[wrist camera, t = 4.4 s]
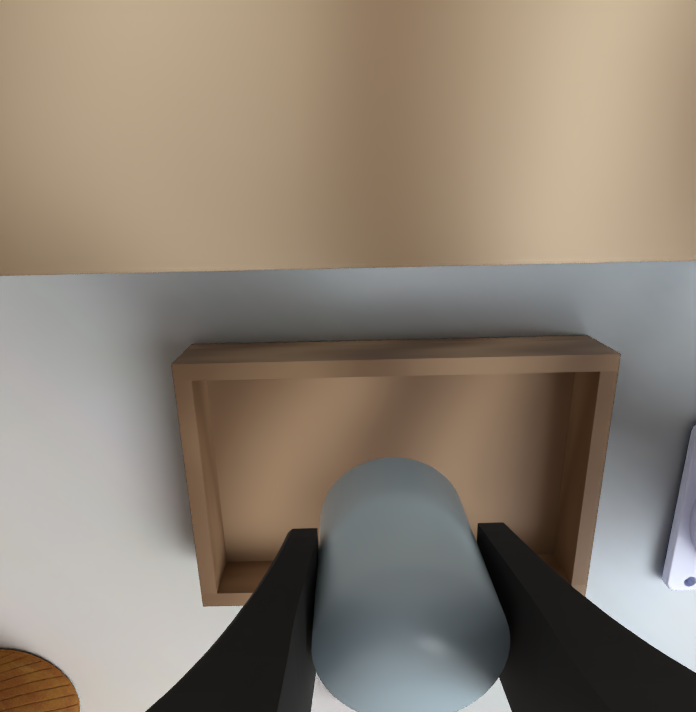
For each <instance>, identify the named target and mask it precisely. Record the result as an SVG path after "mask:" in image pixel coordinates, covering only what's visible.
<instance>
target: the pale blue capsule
mask: <svg viewBox="0 0 696 712" xmlns="http://www.w3.org/2000/svg"><path fill="white" fill-rule="evenodd" d="M318 549H319V550H318V564H317V579H316V588H315V603H314V617H313V631H312V650H311V651H312V658H313V663H314V666H315V670H316V672H317V674H318V676H319V678H320V680H321V681H322V683H323V684H324V686H325V687H326V688H327V689H328V690H329V692H330V693H331V694H332V695H333V696H334V697H336V698H337V699H338V700H339V701H340V702H342V703H343V704H345V705H346V706H348V707H350V708H351V709H353V710H355V711H357V712H457V711H459V710H461V709H463V708H465V707H467V706H468V705H470V704H471V703H473V702H474V701H476V700H477V699H479V698H480V697H481V696H482V695H483V694H485V693H486V692H487V691H488V690H489V689H490V688H491V686H492V685H493V684H494V683H495V682H496V680H497V679H498V677H499V676H500V674H501V672H502V671H503V669H504V667H505V664H506V661H507V658H508V655H509V649H510V632H509V626H508V623H507V620H506V617H505V614H504V611H503V609H502V606H501V604H500V601H499V599H498V596H497V593H496V591H495V588H494V586H493V583H492V580H491V578H490V575H489V573H488V570H487V568H486V565H485V562H484V560H483V557H482V555H481V552H480V549H479V547H478V544H477V542H476V539H475V537H474V534H473V531H472V529H471V526H470V524H469V521H468V519H467V516H466V513H465V511H464V508H463V506H462V503H461V500H460V498H459V495H458V494H457V492H456V490H455V488H454V487H453V485H452V484H451V482H450V481H449V480H448V479H447V478H446V477H445V476H444V475H443V474H441V473H440V472H439V471H438V470H436V469H434V468H433V467H431V466H429V465H427V464H424V463H422V462H419V461H416V460H412V459H407V458H395V457H391V458H381V459H376V460H372V461H369V462H366V463H363V464H361V465H359V466H356V467H354V468H353V469H351V470H350V471H348V472H347V473H345V474H344V475H343V476H342V477H340V478H339V479H338V481H337V482H336V483H335V484H334V485H333V486H332V488H331V489H330V490H329V492H328V494H327V496H326V498H325V500H324V503H323V506H322V510H321V517H320V532H319V546H318Z"/></svg>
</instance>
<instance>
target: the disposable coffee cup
mask: <svg viewBox="0 0 696 712" xmlns="http://www.w3.org/2000/svg"><path fill="white" fill-rule="evenodd" d="M79 711H80V706H79V698H78V696H77V693H76V691H75V688H74V687H73V685H72V683H71V682H70V680H69V679H68V678H67V677H66V676H65V675H64V674H63V673H62V672H61V671H60V670H59V669H57V668H56V667H54V666H53V665H52V664H50V663H49V662H47V661H45V660H43V659H41V658H39V657H36V656H34V655H31V654H28V653H25V652H20V651H16V650H6V649H0V712H79Z"/></svg>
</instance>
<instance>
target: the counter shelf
mask: <svg viewBox="0 0 696 712" xmlns="http://www.w3.org/2000/svg"><path fill="white" fill-rule="evenodd" d="M650 261H696V0H0V276H11V275H57V274H103V273H148V272H194V271H240V270H285V269H331V268H376V267H422V266H468V265H513V264H559V263H605V262H650Z"/></svg>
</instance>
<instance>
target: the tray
mask: <svg viewBox="0 0 696 712" xmlns="http://www.w3.org/2000/svg"><path fill="white" fill-rule="evenodd" d="M620 356H621V354H620V353H618V352H616V351H614V350H613V349H611V348H609V347H607V346H605V345H604V344H602V343H600V342H598V341H597V340H595V339H593V338H591V337H590V336H588V335H586V336H541V337H497V338H452V339H407V340H363V341H318V342H274V343H229V344H192V345H191V346H190V347H189V348H187V349H186V350H185V351H184V352H183V353H182V354H181V355H180V356H179V357H178V358H177V359H176V360H175V361H174V362H173V363H172V364H171V366H172V373H173V381H174V389H175V396H176V404H177V412H178V419H179V427H180V434H181V442H182V450H183V457H184V465H185V472H186V480H187V488H188V495H189V503H190V511H191V518H192V526H193V533H194V541H195V549H196V556H197V564H198V572H199V579H200V587H201V594H202V602H203V606H243V605H245V603H246V602H247V601H248V599H249V598H250V597H251V595H252V594H253V592H254V591H255V589H256V588H257V586H258V585H259V583H260V581H261V580H262V578H263V577H264V575H265V574H266V572H267V570H268V569H269V567H270V566H271V564H272V562H273V560H274V559H275V557H276V555H277V553H278V552H279V550H280V548H281V546H282V544H283V542H284V540H285V538H286V536H287V533H288V532H289V531H290V530H291V529H300V528H317V530H318V546H319V532H320V517H321V510H322V506H323V503H324V500H325V498H326V496H327V494H328V492H329V490H330V489H331V488H332V486H333V485H334V484H335V483H336V482H337V481H338V479H339V478H340V477H342V476H343V475H344V474H345V473H347V472H348V471H350V470H351V469H353V468H354V467H356V466H359V465H361V464H363V463H366V462H369V461H372V460H376V459H381V458H391V457H395V458H407V459H412V460H416V461H419V462H422V463H424V464H427V465H429V466H431V467H433V468H434V469H436V470H438V471H439V472H440V473H441V474H443V475H444V476H445V477H446V478H447V479H448V480H449V481H450V482H451V484H452V485H453V487H454V488H455V490H456V492H457V494H458V495H459V498H460V500H461V503H462V506H463V508H464V511H465V513H466V516H467V519H468V521H469V524H470V526H471V529H472V531H473V534H474V537H475V539H476V542H477V526H478V523H497V522H503V523H504V524H506V525H507V526H508V527H509V528H510V529H511V530H512V531H513V532H514V533H515V534H516V535H517V536H518V537H519V538H520V539H521V540H522V541H523V542H524V543H525V544H526V545H527V546H528V547H529V548H531V549H532V550H533V551H534V552H535V553H536V554H537V555H538V556H539V557H540V558H541V559H542V560H543V561H544V562H545V563H546V564H548V565H549V566H550V567H551V568H552V569H553V570H554V571H555V572H556V573H558V574H559V575H560V576H561V577H562V578H563V579H564V580H565V581H567V582H568V583H569V584H570V585H571V586H572V587H574V588H575V589H576V590H577V591H578V592H580V593H581V594H582V595H583V596H585V594H586V587H587V581H588V574H589V567H590V560H591V553H592V547H593V540H594V533H595V526H596V519H597V513H598V506H599V499H600V492H601V485H602V478H603V472H604V465H605V458H606V451H607V444H608V438H609V431H610V424H611V417H612V410H613V404H614V397H615V390H616V383H617V376H618V370H619V363H620Z"/></svg>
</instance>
